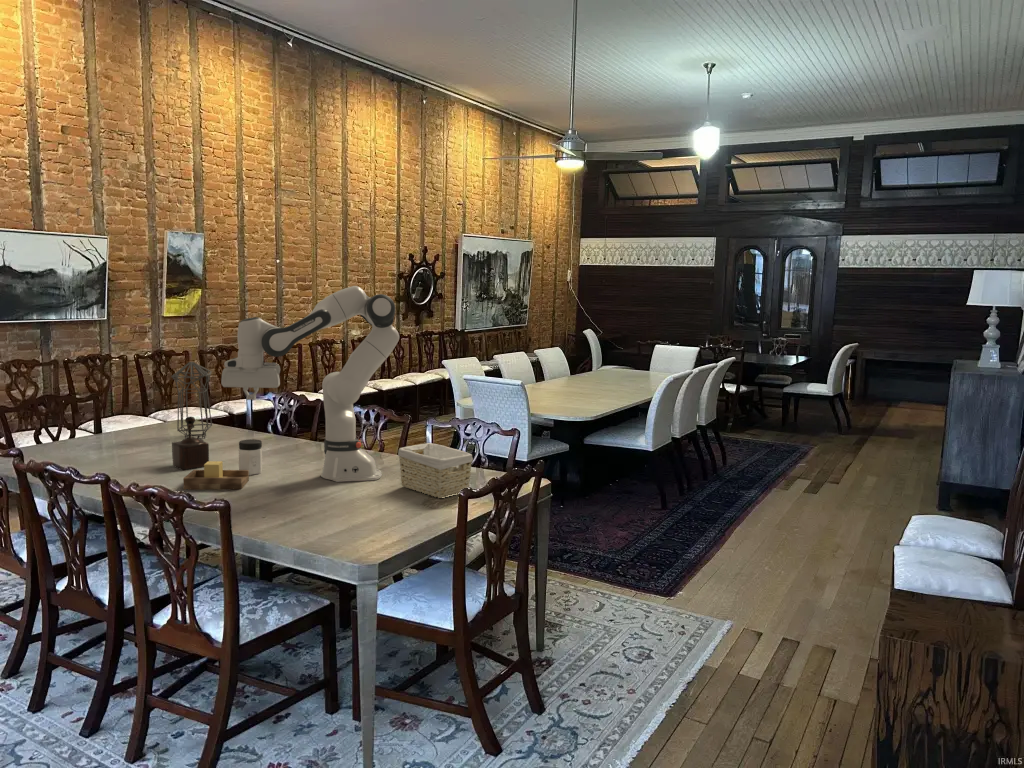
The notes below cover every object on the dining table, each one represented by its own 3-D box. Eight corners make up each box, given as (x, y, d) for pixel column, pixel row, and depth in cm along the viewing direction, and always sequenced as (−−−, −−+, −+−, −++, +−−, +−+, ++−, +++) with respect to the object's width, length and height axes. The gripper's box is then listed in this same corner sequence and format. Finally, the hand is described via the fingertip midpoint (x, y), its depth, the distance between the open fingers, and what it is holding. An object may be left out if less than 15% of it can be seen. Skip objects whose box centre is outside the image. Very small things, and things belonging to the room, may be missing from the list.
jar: (243, 476, 282) (243, 444, 281) (234, 471, 288) (234, 440, 287) (266, 472, 288) (266, 442, 287) (257, 468, 294) (257, 438, 293)
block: (222, 477, 272) (222, 461, 271) (219, 481, 267) (218, 464, 266) (208, 477, 271) (207, 461, 270) (204, 481, 266) (204, 464, 265)
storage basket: (474, 493, 270) (475, 452, 268) (439, 501, 258) (440, 459, 256) (430, 480, 286) (430, 441, 284) (395, 487, 274) (396, 447, 272)
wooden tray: (248, 480, 276) (248, 470, 276) (241, 489, 264) (241, 478, 264) (193, 480, 274) (193, 469, 273) (183, 489, 262) (183, 478, 262)
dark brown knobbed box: (211, 466, 296) (210, 420, 293) (183, 470, 288) (182, 423, 285) (194, 459, 306) (193, 415, 304) (166, 463, 298) (165, 418, 296)
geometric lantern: (210, 440, 341) (207, 363, 336) (173, 442, 338) (169, 364, 333) (216, 433, 357) (212, 359, 351) (180, 434, 353) (176, 360, 348)
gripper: (281, 361, 280) (281, 398, 282) (224, 360, 278) (224, 397, 280) (278, 363, 274) (278, 401, 276) (219, 362, 272) (220, 400, 274)
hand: (251, 399), depth 278 cm, fingers closed
